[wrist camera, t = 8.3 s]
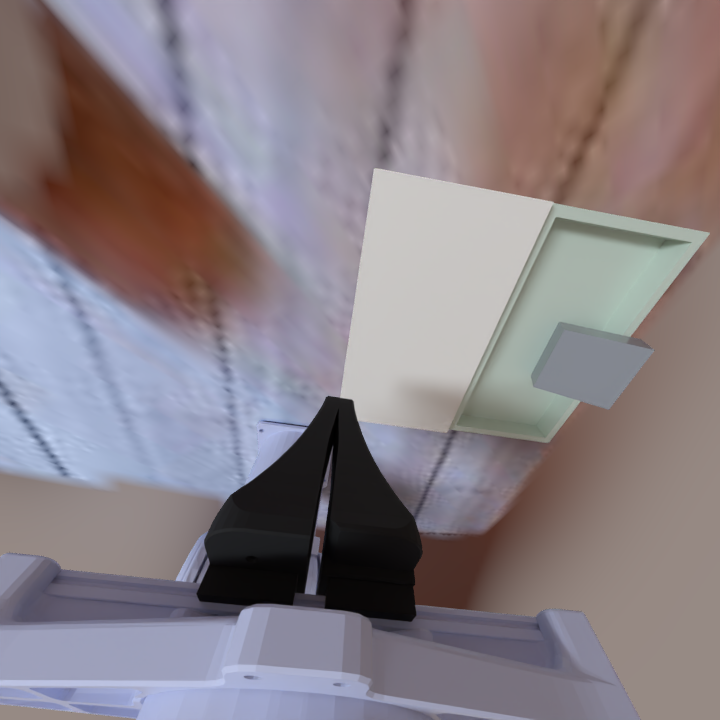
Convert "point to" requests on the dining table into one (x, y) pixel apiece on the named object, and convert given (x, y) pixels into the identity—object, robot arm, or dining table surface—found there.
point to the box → (569, 311)
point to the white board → (431, 294)
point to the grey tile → (589, 364)
